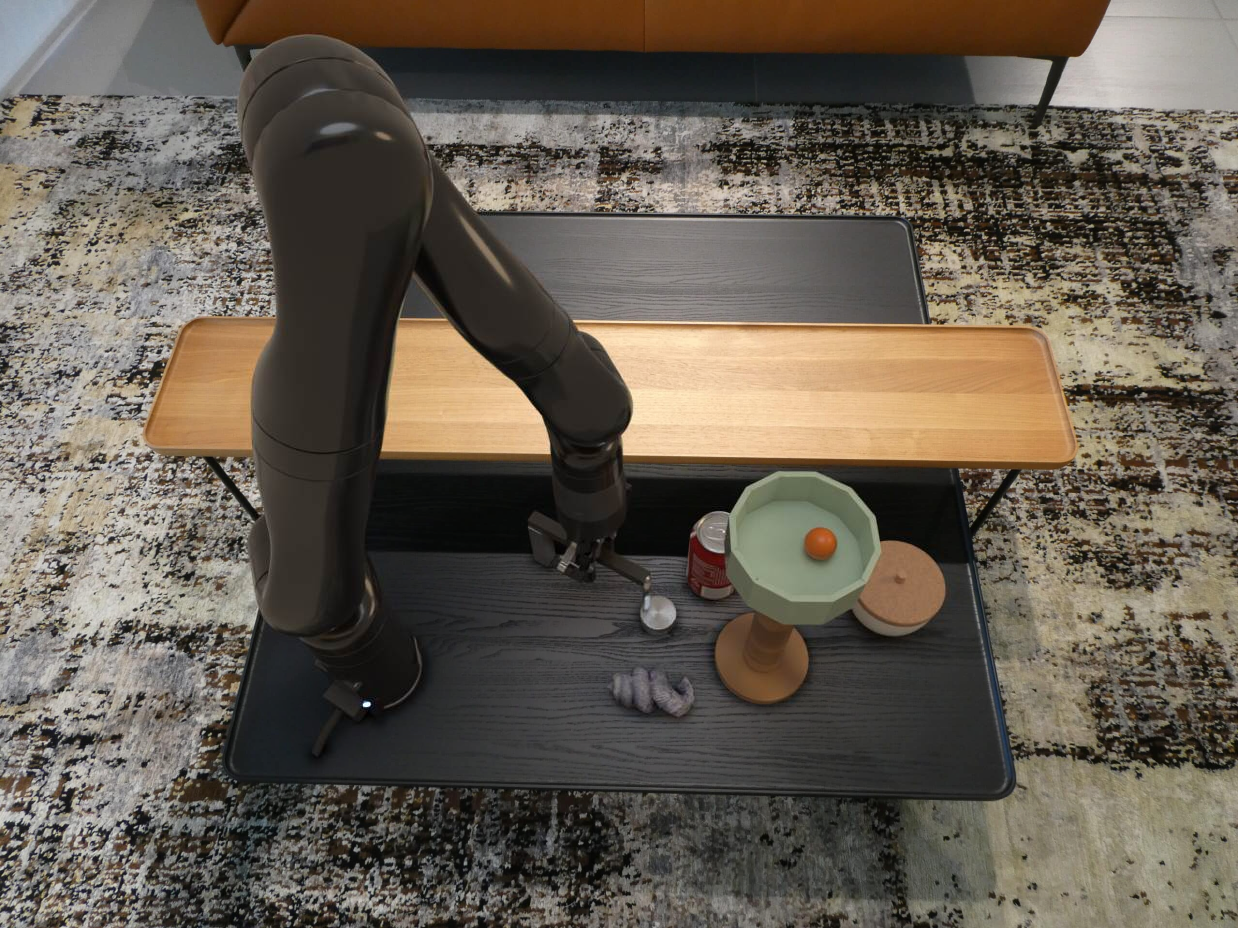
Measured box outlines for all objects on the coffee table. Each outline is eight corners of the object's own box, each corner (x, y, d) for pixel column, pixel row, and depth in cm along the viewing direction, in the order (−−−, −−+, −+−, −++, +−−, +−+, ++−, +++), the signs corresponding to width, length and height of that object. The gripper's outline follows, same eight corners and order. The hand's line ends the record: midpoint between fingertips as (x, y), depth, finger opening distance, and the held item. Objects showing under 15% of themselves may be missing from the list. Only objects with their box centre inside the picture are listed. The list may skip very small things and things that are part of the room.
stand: (783, 721, 96) (826, 633, 75) (698, 674, 100) (716, 576, 78) (821, 643, 102) (872, 539, 80) (739, 600, 105) (767, 489, 83)
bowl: (832, 650, 74) (844, 628, 70) (700, 581, 78) (703, 556, 74) (887, 537, 80) (901, 510, 76) (762, 478, 84) (768, 449, 80)
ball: (826, 570, 78) (832, 555, 75) (796, 556, 79) (801, 540, 76) (838, 546, 79) (845, 530, 77) (809, 531, 80) (814, 515, 77)
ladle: (682, 613, 104) (686, 577, 96) (664, 642, 102) (667, 608, 94) (548, 541, 110) (541, 501, 102) (529, 567, 108) (520, 529, 100)
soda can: (735, 606, 104) (746, 562, 94) (681, 596, 105) (686, 552, 95) (742, 558, 108) (753, 511, 98) (690, 549, 109) (695, 502, 99)
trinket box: (936, 589, 105) (960, 554, 98) (913, 663, 100) (936, 633, 92) (853, 556, 108) (870, 519, 100) (826, 626, 103) (842, 594, 95)
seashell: (693, 699, 99) (609, 695, 100) (695, 660, 98) (609, 655, 98) (693, 727, 94) (604, 722, 95) (695, 685, 93) (605, 681, 93)
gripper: (595, 426, 91) (600, 507, 106) (521, 523, 85) (537, 596, 99) (655, 454, 89) (652, 533, 103) (584, 557, 82) (591, 626, 97)
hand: (596, 563), depth 101 cm, fingers open, 3 cm apart
